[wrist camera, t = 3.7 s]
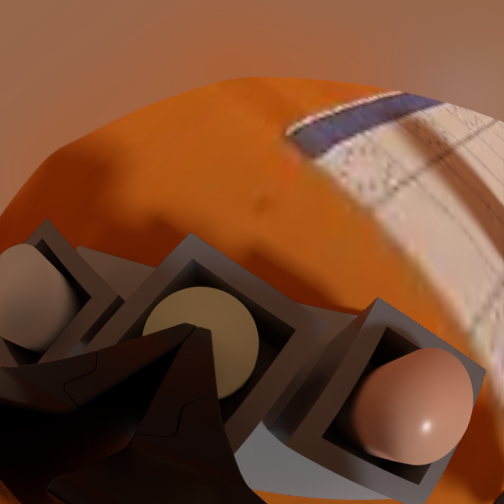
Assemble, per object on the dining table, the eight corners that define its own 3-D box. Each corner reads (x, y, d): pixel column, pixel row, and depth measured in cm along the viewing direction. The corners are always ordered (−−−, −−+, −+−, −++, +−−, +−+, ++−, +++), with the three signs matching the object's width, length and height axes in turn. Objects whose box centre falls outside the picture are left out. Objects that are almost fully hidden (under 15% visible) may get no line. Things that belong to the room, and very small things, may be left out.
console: (389, 494, 12) (469, 523, 5) (31, 389, 14) (-54, 362, 7) (416, 333, 17) (493, 283, 10) (85, 253, 20) (31, 181, 13)
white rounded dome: (58, 376, 10) (1, 356, 7) (22, 323, 11) (-29, 291, 8) (106, 319, 12) (61, 281, 8) (65, 272, 13) (23, 228, 9)
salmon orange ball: (387, 466, 9) (441, 479, 5) (317, 429, 10) (352, 436, 6) (426, 392, 10) (485, 377, 7) (364, 354, 11) (411, 326, 8)
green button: (220, 419, 11) (209, 424, 8) (154, 366, 12) (120, 347, 9) (271, 353, 13) (282, 329, 9) (205, 306, 14) (191, 266, 10)
